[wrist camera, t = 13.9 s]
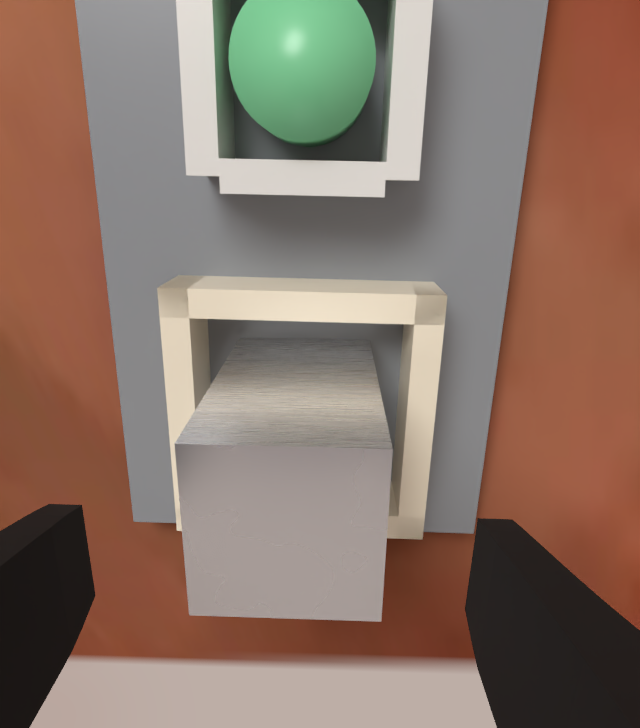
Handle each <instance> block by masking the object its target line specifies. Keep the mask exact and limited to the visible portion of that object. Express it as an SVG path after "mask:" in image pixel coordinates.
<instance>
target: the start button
mask: <svg viewBox="0 0 640 728" xmlns="http://www.w3.org/2000/svg"><path fill="white" fill-rule="evenodd" d="M228 60H229V70H230V75H231V80H232V83H233V86H234V89H235V92H236V94H237V96H238V98H239V100H240V102H241V104H242V105H243V107H244V108H245V110H246V111H247V112H248V113H249V115H250V116H251V117H252V118H253V119H254V120H255V121H256V122H257V123H258V124H259V125H261V126H262V127H263V128H265V129H266V130H267V131H269V132H270V133H271V134H273V135H274V136H275V137H277V138H278V139H280V140H282V141H284V142H286V143H289V144H291V145H295V146H300V147H316V146H321V145H324V144H327V143H330V142H332V141H334V140H336V139H338V138H339V137H340V136H342V135H343V134H344V133H346V132H347V131H348V130H349V129H350V128H351V127H352V125H353V124H354V123H355V122H356V120H357V119H358V117H359V116H360V114H361V111H362V109H363V107H364V105H365V102H366V99H367V97H368V94H369V91H370V88H371V85H372V82H373V78H374V73H375V65H376V48H375V40H374V36H373V32H372V28H371V25H370V23H369V20H368V18H367V16H366V14H365V12H364V10H363V8H362V7H361V6H360V4H359V3H358V1H357V0H247V1H246V3H245V4H244V5H243V7H242V8H241V10H240V12H239V14H238V16H237V18H236V20H235V23H234V25H233V29H232V32H231V36H230V42H229V56H228Z"/></svg>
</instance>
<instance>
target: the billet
mask: <svg viewBox="0 0 640 728" xmlns="http://www.w3.org/2000/svg"><path fill="white" fill-rule="evenodd" d="M392 454H393V448H392V443H391V439H390V434H389V429H388V425H387V420H386V415H385V411H384V406H383V401H382V397H381V392H380V387H379V383H378V378H377V373H376V369H375V364H374V359H373V355H372V350H371V345H370V341H369V340H341V339H294V338H248V337H240V338H239V340H238V342H237V343H236V345H235V347H234V348H233V350H232V351H231V353H230V355H229V356H228V358H227V359H226V361H225V363H224V364H223V366H222V368H221V369H220V371H219V372H218V374H217V376H216V377H215V379H214V381H213V382H212V384H211V385H210V387H209V389H208V390H207V392H206V394H205V395H204V397H203V398H202V400H201V402H200V403H199V405H198V406H197V408H196V410H195V411H194V413H193V415H192V416H191V418H190V419H189V421H188V423H187V424H186V426H185V428H184V429H183V431H182V432H181V434H180V436H179V437H178V439H177V441H176V442H175V456H176V467H177V479H178V491H179V502H180V514H181V525H182V537H183V548H184V560H185V572H186V583H187V595H188V606H189V615H197V616H227V617H257V618H287V619H317V620H347V621H377V622H381V618H382V604H383V589H384V574H385V559H386V544H387V529H388V514H389V499H390V484H391V469H392Z"/></svg>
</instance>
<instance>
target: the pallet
mask: <svg viewBox="0 0 640 728" xmlns="http://www.w3.org/2000/svg"><path fill="white" fill-rule="evenodd" d="M246 1H247V0H75V6H76V15H77V24H78V32H79V41H80V50H81V59H82V68H83V77H84V86H85V94H86V103H87V112H88V121H89V130H90V139H91V147H92V156H93V165H94V174H95V183H96V192H97V201H98V209H99V218H100V227H101V236H102V245H103V254H104V262H105V271H106V280H107V289H108V298H109V307H110V315H111V324H112V333H113V342H114V351H115V360H116V369H117V377H118V386H119V395H120V404H121V413H122V422H123V430H124V439H125V448H126V457H127V466H128V475H129V483H130V492H131V501H132V510H133V519H134V522H160V523H176V525H177V531H182V525H181V514H180V502H179V491H178V479H177V467H176V456H175V442H176V441H177V439H178V437H179V436H180V434H181V432H182V431H183V429H184V428H185V426H186V424H187V423H188V421H189V419H190V418H191V416H192V415H193V413H194V411H195V410H196V408H197V406H198V405H199V403H200V402H201V400H202V398H203V397H204V395H205V394H206V392H207V390H208V389H209V387H210V385H211V384H212V382H213V381H214V379H215V377H216V376H217V374H218V372H219V371H220V369H221V368H222V366H223V364H224V363H225V361H226V359H227V358H228V356H229V355H230V353H231V351H232V350H233V348H234V347H235V345H236V343H237V342H238V340H239V338H240V337H248V338H294V339H341V340H369V341H370V345H371V350H372V355H373V359H374V364H375V369H376V373H377V378H378V383H379V387H380V392H381V397H382V401H383V406H384V411H385V415H386V420H387V425H388V429H389V434H390V439H391V443H392V448H393V454H392V469H391V484H390V499H389V514H388V529H387V538H393V539H421V540H423V532H442V533H471V534H474V528H475V521H476V514H477V507H478V499H479V492H480V485H481V478H482V471H483V464H484V457H485V449H486V442H487V435H488V428H489V421H490V414H491V407H492V400H493V392H494V385H495V378H496V371H497V364H498V357H499V350H500V342H501V335H502V328H503V321H504V314H505V307H506V300H507V293H508V285H509V278H510V271H511V264H512V257H513V250H514V243H515V235H516V228H517V221H518V214H519V207H520V200H521V193H522V186H523V178H524V171H525V164H526V157H527V150H528V143H529V136H530V128H531V121H532V114H533V107H534V100H535V93H536V86H537V79H538V71H539V64H540V57H541V50H542V43H543V36H544V29H545V21H546V14H547V7H548V0H357V1H358V3H359V4H360V6H361V7H362V8H363V10H364V12H365V14H366V16H367V18H368V20H369V23H370V25H371V28H372V32H373V36H374V40H375V48H376V65H375V73H374V78H373V82H372V85H371V88H370V91H369V94H368V97H367V99H366V102H365V105H364V107H363V109H362V111H361V114H360V116H359V117H358V119H357V120H356V122H355V123H354V124H353V125H352V127H351V128H350V129H349V130H348V131H347V132H346V133H344V134H343V135H342V136H340V137H339V138H338V139H336V140H334V141H332V142H330V143H327V144H324V145H321V146H316V147H300V146H295V145H291V144H289V143H286V142H284V141H282V140H280V139H278V138H277V137H275V136H274V135H273V134H271V133H270V132H269V131H267V130H266V129H265V128H263V127H262V126H261V125H259V124H258V123H257V122H256V121H255V120H254V119H253V118H252V117H251V116H250V115H249V113H248V112H247V111H246V110H245V108H244V107H243V105H242V104H241V102H240V100H239V98H238V96H237V94H236V92H235V89H234V86H233V83H232V80H231V75H230V70H229V60H228V56H229V42H230V36H231V32H232V29H233V25H234V23H235V20H236V18H237V16H238V14H239V12H240V10H241V8H242V7H243V5H244V4H245V3H246Z"/></svg>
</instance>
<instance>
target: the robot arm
mask: <svg viewBox="0 0 640 728" xmlns="http://www.w3.org/2000/svg"><path fill="white" fill-rule="evenodd" d="M94 597H95V590H94V583H93V577H92V570H91V563H90V557H89V550H88V543H87V537H86V530H85V523H84V517H83V510H82V505H61V504H48V505H46V506H44V507H42V508H40V509H38V510H36V511H34V512H33V513H31V514H29V515H27V516H25V517H24V518H22V519H20V520H18V521H17V522H15V523H13V524H12V525H10V526H8V527H7V528H5V529H3V530H2V531H0V728H29V727H30V725H31V724H32V722H33V720H34V718H35V717H36V715H37V713H38V711H39V709H40V708H41V706H42V704H43V702H44V701H45V699H46V697H47V695H48V694H49V692H50V690H51V688H52V686H53V684H54V683H55V681H56V679H57V678H58V676H59V674H60V672H61V670H62V669H63V667H64V665H65V663H66V661H67V659H68V658H69V656H70V654H71V652H72V650H73V648H74V646H75V643H76V641H77V639H78V636H79V634H80V632H81V629H82V627H83V625H84V622H85V620H86V617H87V615H88V612H89V610H90V607H91V605H92V602H93V600H94ZM465 611H466V616H467V621H468V626H469V631H470V636H471V641H472V645H473V650H474V654H475V659H476V663H477V667H478V671H479V674H480V677H481V680H482V683H483V686H484V689H485V692H486V695H487V698H488V701H489V704H490V707H491V711H492V713H493V717H494V720H495V722H496V725H497V728H640V630H638V629H637V628H636V627H635V626H633V625H632V624H631V623H630V622H628V621H627V620H626V619H625V618H624V617H622V616H621V615H620V614H619V613H618V612H616V611H615V610H614V609H613V608H612V607H610V606H609V605H608V604H607V603H606V602H604V601H603V600H602V599H601V598H600V597H599V596H597V595H596V594H595V593H594V592H593V591H592V590H591V589H589V588H588V587H587V586H586V585H585V584H584V583H583V582H581V581H580V580H579V579H578V578H577V577H576V576H575V575H574V574H572V573H571V572H570V571H569V570H568V569H567V568H566V567H565V566H563V565H562V564H561V563H560V562H559V561H558V560H557V559H556V558H555V557H554V556H552V555H551V554H550V553H549V552H548V551H547V550H546V549H545V548H544V547H543V546H541V545H540V544H539V543H538V542H537V541H536V540H535V539H534V538H533V537H532V536H530V535H529V534H528V533H527V532H526V531H525V530H524V529H523V528H521V527H520V526H519V525H518V524H517V523H516V522H514V521H513V520H508V519H479V518H478V522H477V529H476V536H475V543H474V550H473V557H472V564H471V571H470V578H469V585H468V592H467V599H466V606H465Z"/></svg>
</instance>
